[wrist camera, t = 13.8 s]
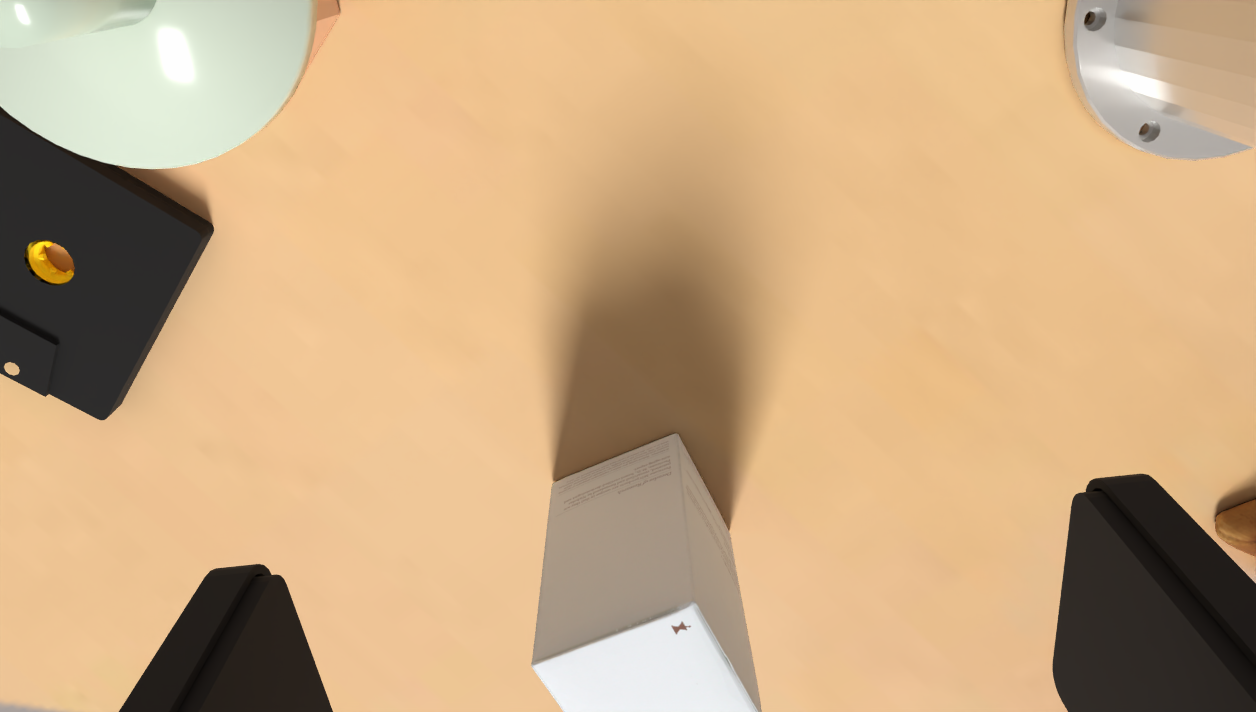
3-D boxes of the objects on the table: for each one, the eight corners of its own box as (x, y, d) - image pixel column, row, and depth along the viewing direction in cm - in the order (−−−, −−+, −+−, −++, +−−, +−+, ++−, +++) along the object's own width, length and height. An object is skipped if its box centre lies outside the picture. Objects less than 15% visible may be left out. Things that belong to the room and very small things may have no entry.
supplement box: (547, 480, 46) (523, 663, 34) (679, 428, 45) (699, 600, 33) (608, 582, 49) (605, 781, 37) (733, 536, 47) (769, 728, 36)
